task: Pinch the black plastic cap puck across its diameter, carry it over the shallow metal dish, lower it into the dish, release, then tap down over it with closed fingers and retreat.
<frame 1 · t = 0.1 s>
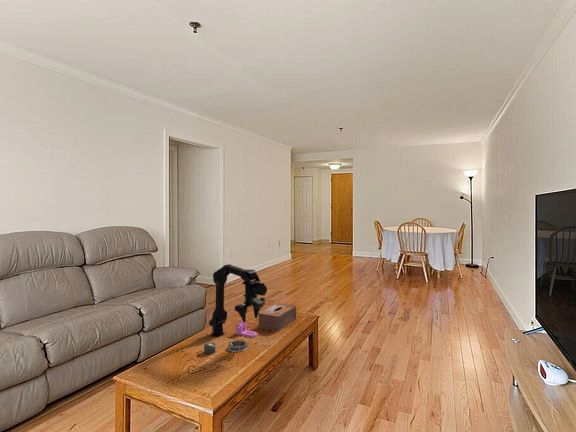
hand: (250, 320, 187), 15 cm above the table, fingers open, 9 cm apart
cap: (209, 352, 180), on the table
bracket: (247, 335, 204), on the table
shallow metal dish: (237, 347, 185), on the table
tissue box cover: (278, 324, 223), on the table
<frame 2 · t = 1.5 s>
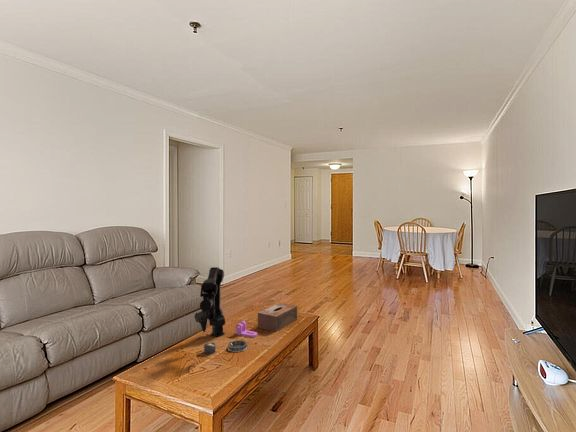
hand: (209, 333, 180), 10 cm above the table, fingers open, 9 cm apart
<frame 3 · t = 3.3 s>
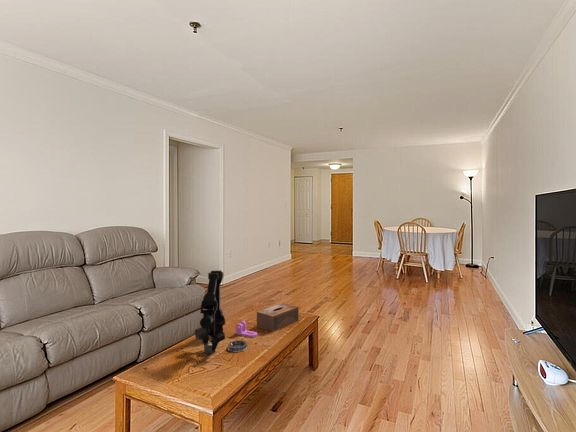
hand: (209, 350, 180), 1 cm above the table, fingers closed on cap, 6 cm apart
cap: (209, 352, 180), on the table, touching gripper
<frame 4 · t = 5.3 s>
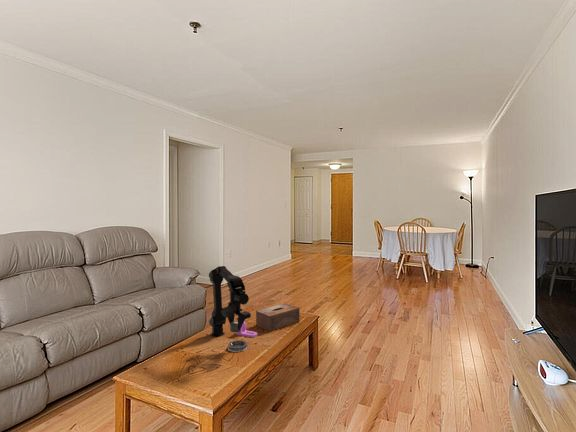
hand: (235, 328, 184), 11 cm above the table, fingers closed on cap, 6 cm apart
cap: (235, 330, 184), point 10 cm above the table, touching gripper
when the fingers open (3 cm above the table, at t = 7.7 s): cap drops 2 cm, resting on shallow metal dish.
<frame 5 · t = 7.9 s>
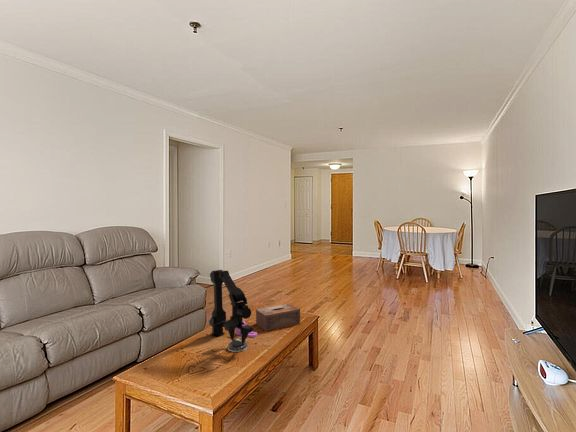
hand: (237, 341, 185), 3 cm above the table, fingers open, 8 cm apart
cap: (237, 347, 185), resting on shallow metal dish
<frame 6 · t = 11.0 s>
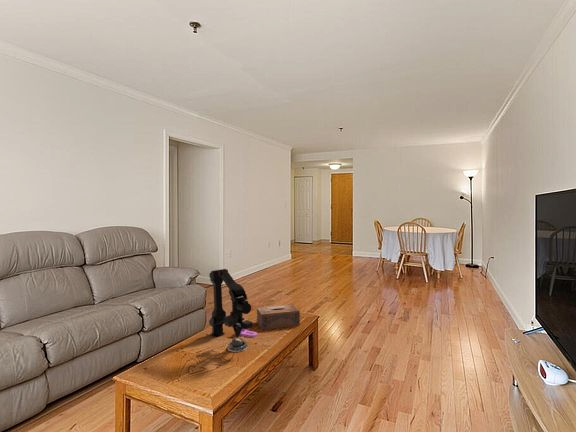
hand: (237, 337, 185), 6 cm above the table, fingers closed
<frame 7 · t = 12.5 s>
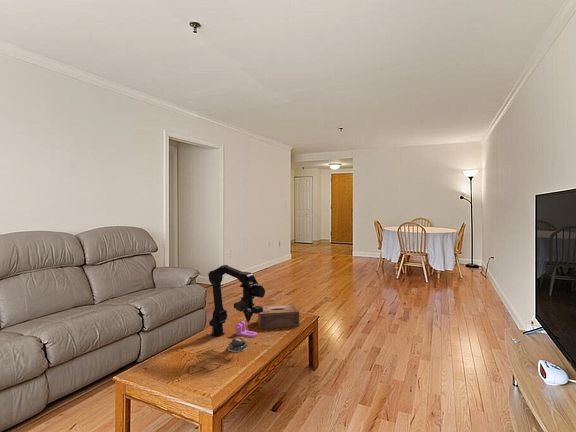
hand: (248, 322, 192), 12 cm above the table, fingers closed
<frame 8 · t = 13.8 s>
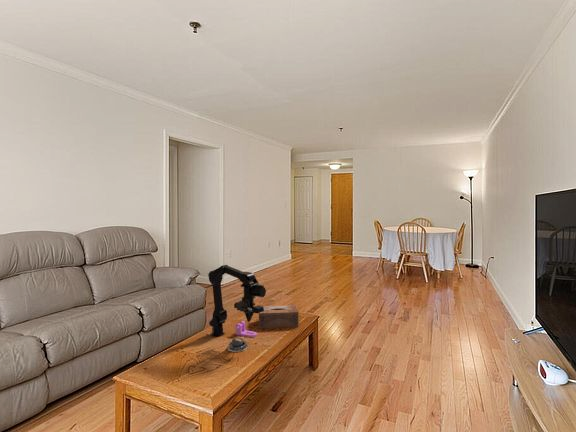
hand: (248, 321, 192), 12 cm above the table, fingers closed
at the end: cap 0.1 cm off-centre on the shallow metal dish, point 0.3 cm above the shallow metal dish's base; cap tilted 0°; the gripper is holding nothing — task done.
